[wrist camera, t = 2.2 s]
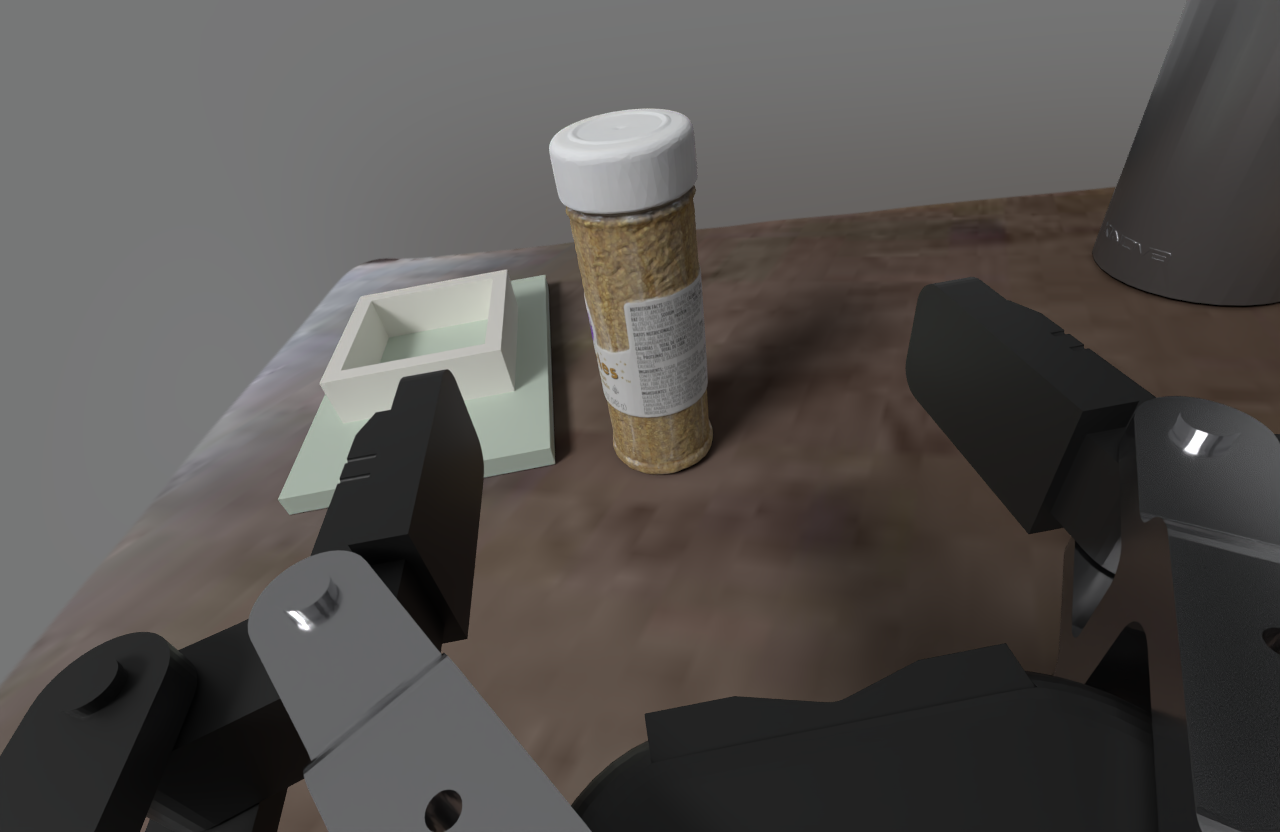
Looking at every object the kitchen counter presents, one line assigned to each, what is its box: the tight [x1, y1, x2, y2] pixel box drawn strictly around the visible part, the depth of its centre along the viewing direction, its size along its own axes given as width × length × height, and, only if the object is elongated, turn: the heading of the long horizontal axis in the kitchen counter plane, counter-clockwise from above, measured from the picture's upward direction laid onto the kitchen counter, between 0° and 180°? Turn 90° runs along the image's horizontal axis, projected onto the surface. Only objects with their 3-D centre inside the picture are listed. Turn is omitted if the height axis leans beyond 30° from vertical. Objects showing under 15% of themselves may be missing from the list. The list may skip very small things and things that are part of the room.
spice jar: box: [549, 109, 713, 474], centre depth 23 cm, size 5×5×14 cm
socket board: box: [278, 270, 555, 515], centre depth 32 cm, size 12×17×4 cm
